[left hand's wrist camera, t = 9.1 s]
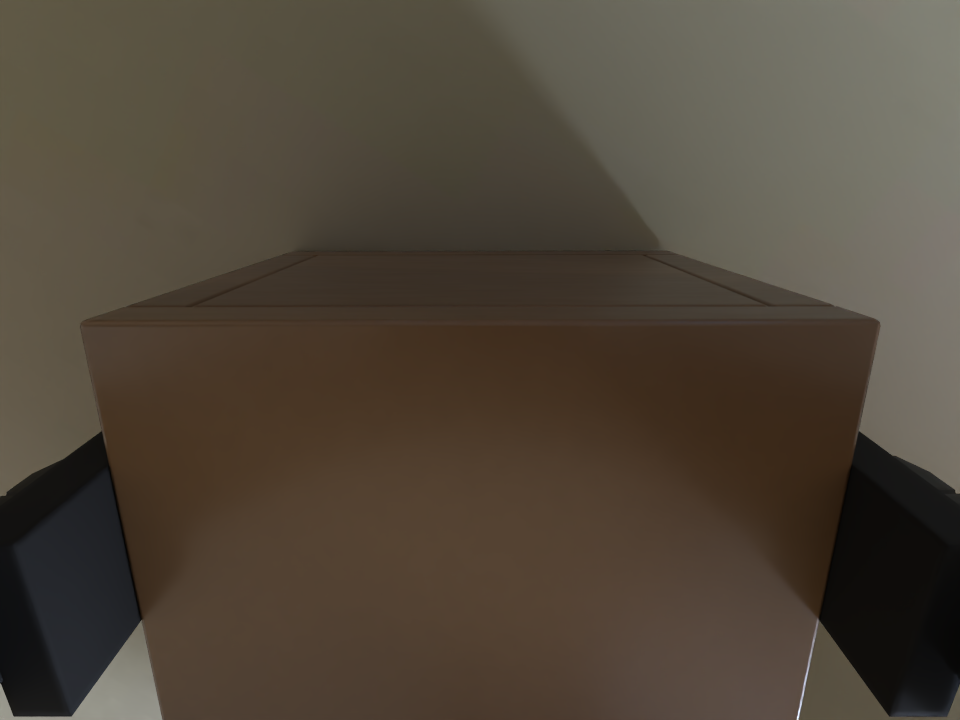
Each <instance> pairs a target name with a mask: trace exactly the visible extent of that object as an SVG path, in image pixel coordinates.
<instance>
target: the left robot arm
mask: <svg viewBox="0 0 960 720" xmlns="http://www.w3.org/2000/svg"><path fill="white" fill-rule="evenodd" d="M141 620H142V619H141V614H140V610H139V605H138V600H137V595H136V591H135V586H134V581H133V576H132V572H131V567H130V562H129V557H128V553H127V548H126V543H125V538H124V534H123V529H122V524H121V519H120V514H119V510H118V505H117V500H116V495H115V491H114V486H113V481H112V476H111V472H110V467H109V462H108V457H107V453H106V448H105V443H104V438H103V433H102V431H101V432H100V433H99V434H97V435H96V436H95V437H93V438H92V439H90V440H89V441H88V442H86V443H85V444H84V445H82V446H81V447H80V448H78V449H77V450H75V451H74V452H73V453H71V454H70V455H69V456H67V457H66V458H65V459H63V460H61V461H59V462H56V463H54V464H52V465H50V466H48V467H46V468H44V469H41V470H39V471H37V472H35V473H33V474H31V475H30V476H28V477H27V478H26V479H24V480H23V481H21V482H20V483H19V484H17V485H16V486H14V487H13V488H12V489H10V490H9V491H8V492H7V494H6V496H1V497H0V683H1V685H2V687H3V690H4V692H5V695H6V698H7V700H8V703H9V705H10V708H11V710H12V713H13V716H72V715H73V714H74V712H75V711H76V709H77V708H78V707H79V705H80V704H81V703H82V701H83V700H84V698H85V697H86V696H87V694H88V693H89V692H90V690H91V689H92V687H93V686H94V685H95V683H96V682H97V681H98V679H99V678H100V676H101V675H102V674H103V672H104V671H105V669H106V668H107V667H108V665H109V664H110V663H111V661H112V660H113V658H114V657H115V656H116V654H117V653H118V652H119V650H120V649H121V647H122V646H123V645H124V643H125V642H126V641H127V639H128V638H129V636H130V635H131V634H132V632H133V631H134V629H135V628H136V627H137V625H138V624H139V623H140V621H141ZM819 620H820V622H821V623H822V624H823V626H824V627H825V629H826V630H827V631H828V633H829V634H830V635H831V637H832V638H833V640H834V641H835V642H836V644H837V645H838V647H839V648H840V649H841V651H842V652H843V653H844V655H845V656H846V658H847V659H848V660H849V662H850V663H851V664H852V666H853V667H854V669H855V670H856V671H857V673H858V674H859V675H860V677H861V678H862V680H863V681H864V682H865V684H866V685H867V686H868V688H869V689H870V691H871V692H872V693H873V695H874V696H875V698H876V699H877V700H878V702H879V703H880V704H881V706H882V707H883V709H884V710H885V711H886V713H887V714H888V715H889V717H947V715H948V713H949V710H950V708H951V705H952V703H953V700H954V697H955V695H956V692H957V690H958V687H959V685H960V494H956V493H955V490H954V489H953V488H951V487H950V486H949V485H947V484H946V483H944V482H943V481H942V480H940V479H939V478H937V477H936V476H935V475H933V474H932V473H930V472H929V471H927V470H924V469H922V468H920V467H918V466H916V465H914V464H911V463H909V462H907V461H905V460H903V459H901V458H898V457H896V456H892V455H891V454H889V453H888V452H887V451H885V450H884V449H883V448H881V447H880V446H878V445H877V444H876V443H874V442H873V441H872V440H870V439H869V438H868V437H866V436H865V435H863V434H862V433H861V432H859V431H858V436H857V441H856V446H855V451H854V456H853V460H852V465H851V470H850V475H849V480H848V484H847V489H846V494H845V499H844V504H843V509H842V513H841V518H840V523H839V528H838V533H837V537H836V542H835V547H834V552H833V557H832V562H831V566H830V571H829V576H828V581H827V586H826V591H825V595H824V600H823V605H822V610H821V615H820V619H819Z"/></svg>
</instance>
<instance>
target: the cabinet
mask: <svg viewBox="0 0 960 720" xmlns="http://www.w3.org/2000/svg"><path fill="white" fill-rule="evenodd" d="M80 329H81V333H82V338H83V343H84V348H85V353H86V357H87V362H88V367H89V372H90V376H91V381H92V386H93V391H94V395H95V400H96V405H97V410H98V414H99V419H100V424H101V429H102V433H103V438H104V443H105V448H106V453H107V457H108V462H109V467H110V472H111V476H112V481H113V486H114V491H115V495H116V500H117V505H118V510H119V514H120V519H121V524H122V529H123V534H124V538H125V543H126V548H127V553H128V557H129V562H130V567H131V572H132V576H133V581H134V586H135V591H136V595H137V600H138V605H139V610H140V614H141V619H142V624H143V629H144V634H145V638H146V643H147V648H148V653H149V657H150V662H151V667H152V672H153V676H154V681H155V686H156V691H157V695H158V700H159V705H160V710H161V714H162V719H163V720H799V716H800V711H801V706H802V701H803V697H804V692H805V687H806V682H807V677H808V673H809V668H810V663H811V658H812V653H813V648H814V644H815V639H816V634H817V629H818V624H819V619H820V615H821V610H822V605H823V600H824V595H825V591H826V586H827V581H828V576H829V571H830V566H831V562H832V557H833V552H834V547H835V542H836V537H837V533H838V528H839V523H840V518H841V513H842V509H843V504H844V499H845V494H846V489H847V484H848V480H849V475H850V470H851V465H852V460H853V456H854V451H855V446H856V441H857V436H858V431H859V427H860V422H861V417H862V412H863V407H864V402H865V398H866V393H867V388H868V383H869V378H870V374H871V369H872V364H873V359H874V354H875V349H876V345H877V340H878V335H879V330H880V322H879V321H878V320H876V319H874V318H871V317H868V316H865V315H862V314H859V313H856V312H853V311H849V310H846V309H843V308H840V307H837V306H834V305H831V304H829V303H825V302H822V301H819V300H816V299H813V298H810V297H807V296H804V295H801V294H798V293H795V292H792V291H789V290H786V289H783V288H780V287H776V286H773V285H770V284H767V283H764V282H761V281H758V280H755V279H752V278H749V277H746V276H743V275H740V274H737V273H734V272H731V271H727V270H724V269H721V268H718V267H715V266H712V265H709V264H706V263H703V262H700V261H697V260H694V259H691V258H688V257H685V256H682V255H678V254H675V253H672V252H669V251H292V252H289V253H286V254H283V255H281V256H277V257H274V258H271V259H268V260H265V261H262V262H259V263H256V264H253V265H250V266H247V267H244V268H241V269H238V270H235V271H232V272H229V273H226V274H223V275H220V276H217V277H214V278H211V279H208V280H205V281H202V282H199V283H196V284H193V285H190V286H187V287H183V288H180V289H177V290H174V291H171V292H168V293H165V294H162V295H159V296H156V297H153V298H150V299H147V300H144V301H141V302H138V303H135V304H132V305H129V306H127V307H123V308H120V309H117V310H114V311H111V312H108V313H105V314H102V315H99V316H96V317H93V318H90V319H87V320H84V321H82V322H81V325H80Z"/></svg>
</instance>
